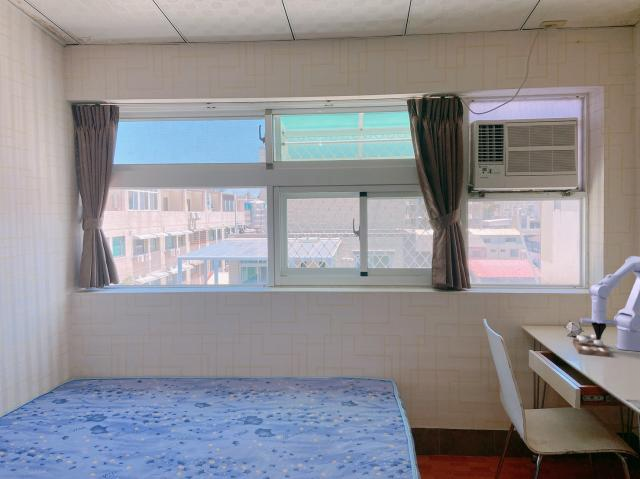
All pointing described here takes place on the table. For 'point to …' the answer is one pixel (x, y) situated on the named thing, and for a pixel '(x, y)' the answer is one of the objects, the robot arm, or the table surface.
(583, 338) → the button
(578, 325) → the game die
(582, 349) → the button board
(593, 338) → the button
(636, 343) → the robot arm
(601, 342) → the button
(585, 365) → the table surface
